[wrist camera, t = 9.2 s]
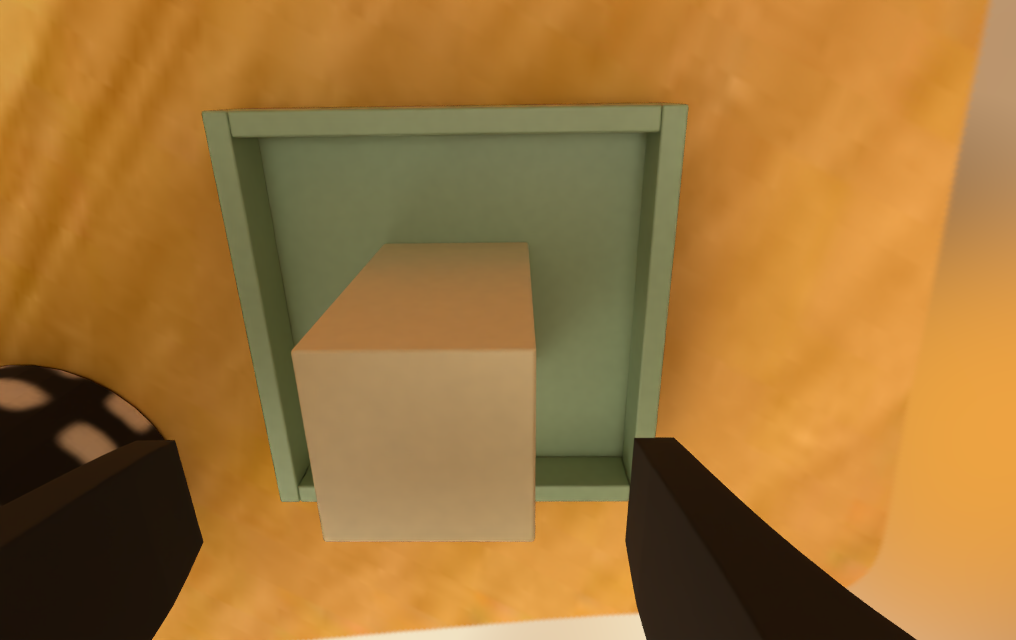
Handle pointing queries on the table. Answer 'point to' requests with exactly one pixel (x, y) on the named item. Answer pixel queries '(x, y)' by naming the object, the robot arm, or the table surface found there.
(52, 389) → the white-spotted black cylinder
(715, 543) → the robot arm
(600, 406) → the tray
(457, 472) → the block
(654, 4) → the table surface
